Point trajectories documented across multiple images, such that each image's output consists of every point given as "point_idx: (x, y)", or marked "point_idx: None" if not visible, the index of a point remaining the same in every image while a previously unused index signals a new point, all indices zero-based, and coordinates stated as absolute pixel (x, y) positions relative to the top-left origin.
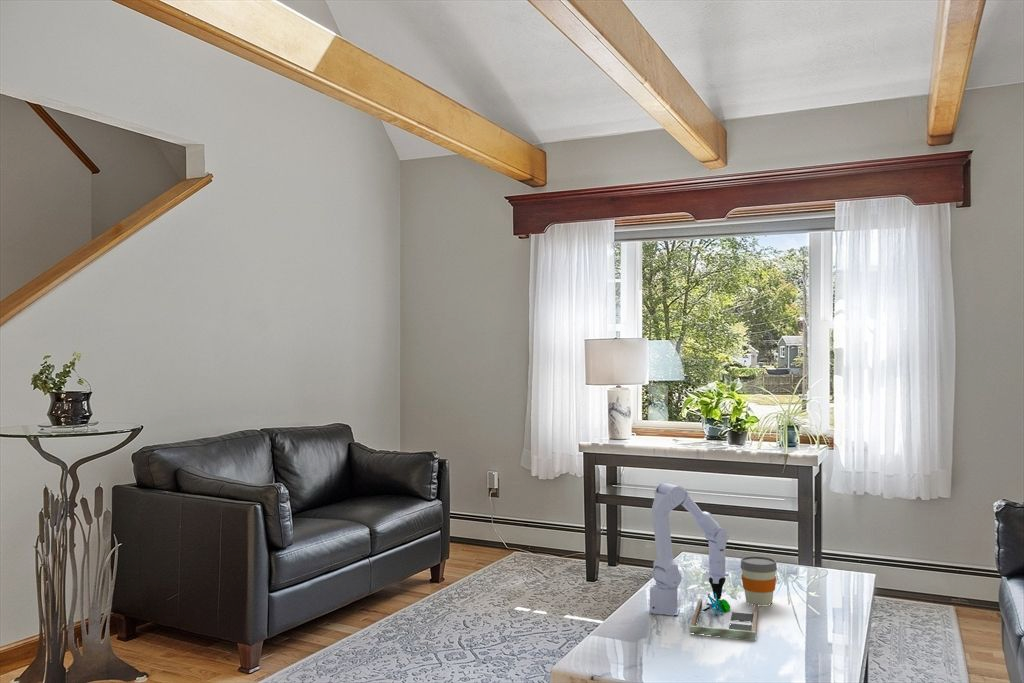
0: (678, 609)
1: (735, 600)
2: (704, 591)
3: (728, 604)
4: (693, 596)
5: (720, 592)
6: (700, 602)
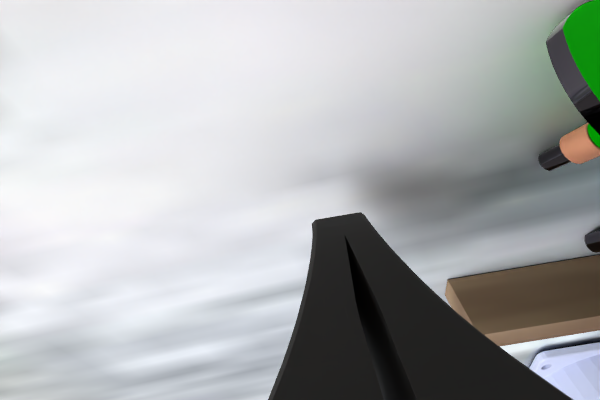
0: (584, 355)
1: (40, 41)
2: (19, 361)
3: (591, 51)
4: (211, 370)
5: (408, 283)
6: (586, 320)
